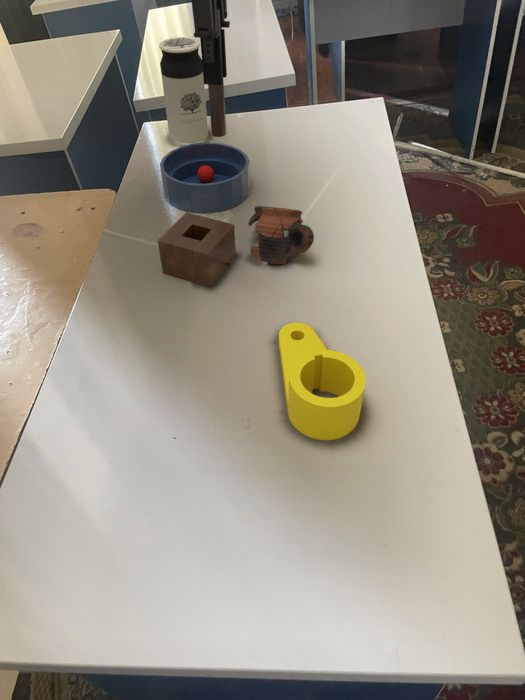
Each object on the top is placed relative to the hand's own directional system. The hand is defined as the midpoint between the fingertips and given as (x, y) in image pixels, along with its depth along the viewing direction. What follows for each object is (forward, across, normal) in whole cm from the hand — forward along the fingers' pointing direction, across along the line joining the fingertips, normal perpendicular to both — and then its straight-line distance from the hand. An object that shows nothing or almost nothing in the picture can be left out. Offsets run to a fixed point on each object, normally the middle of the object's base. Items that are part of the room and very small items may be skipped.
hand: (215, 79), depth 86 cm
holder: (+20, -20, -1) cm, 28 cm away
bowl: (+20, +1, +3) cm, 20 cm away
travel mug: (+20, +22, +12) cm, 32 cm away
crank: (+20, -41, -20) cm, 50 cm away
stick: (+8, 0, 0) cm, 8 cm away
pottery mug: (+20, -14, -12) cm, 28 cm away
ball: (+19, +4, +4) cm, 20 cm away
